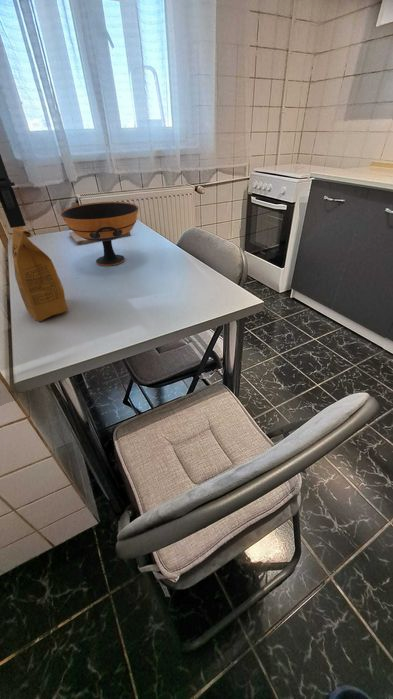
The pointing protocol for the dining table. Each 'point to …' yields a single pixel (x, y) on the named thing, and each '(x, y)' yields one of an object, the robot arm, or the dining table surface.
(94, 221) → the footed pedestal bowl
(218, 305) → the dining table surface
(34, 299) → the coffee package
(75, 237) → the chopping board
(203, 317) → the dining table surface
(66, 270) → the dining table surface
